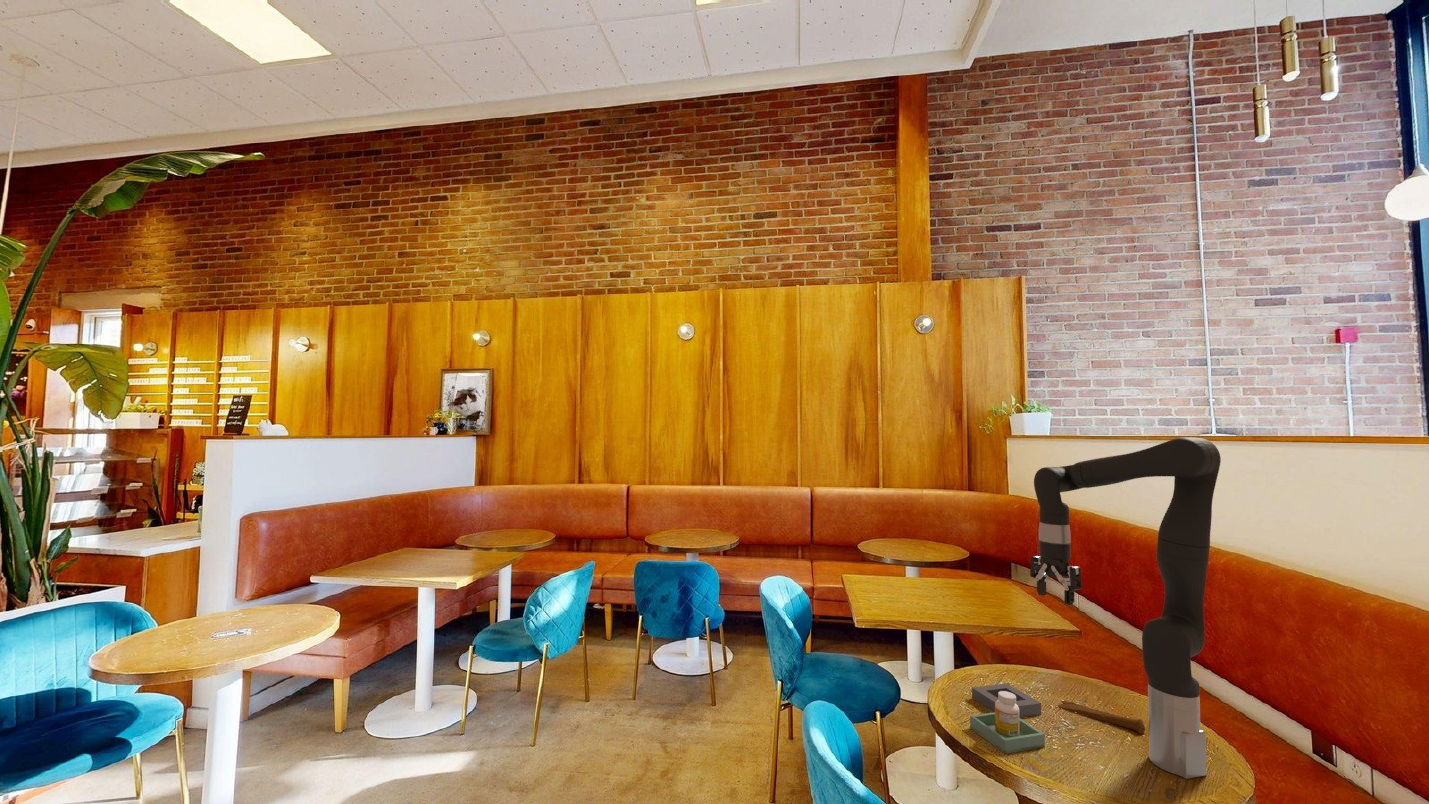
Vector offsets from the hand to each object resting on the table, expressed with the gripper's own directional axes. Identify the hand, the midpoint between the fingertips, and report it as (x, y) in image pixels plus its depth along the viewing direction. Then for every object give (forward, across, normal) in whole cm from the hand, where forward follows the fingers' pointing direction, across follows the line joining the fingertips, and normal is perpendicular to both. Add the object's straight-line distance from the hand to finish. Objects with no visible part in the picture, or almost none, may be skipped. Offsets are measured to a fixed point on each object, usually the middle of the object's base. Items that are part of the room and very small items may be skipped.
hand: (1055, 599), depth 152 cm
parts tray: (+30, -7, +23) cm, 39 cm away
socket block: (+30, +6, +11) cm, 33 cm away
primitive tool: (+31, -5, -9) cm, 32 cm away
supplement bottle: (+30, -7, +23) cm, 38 cm away
